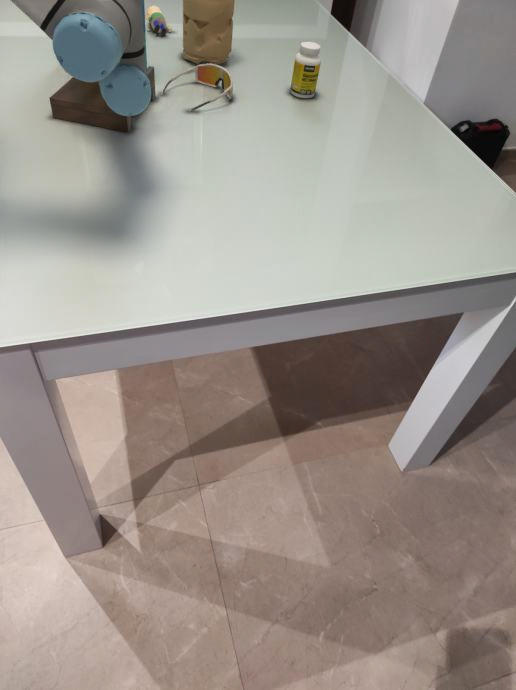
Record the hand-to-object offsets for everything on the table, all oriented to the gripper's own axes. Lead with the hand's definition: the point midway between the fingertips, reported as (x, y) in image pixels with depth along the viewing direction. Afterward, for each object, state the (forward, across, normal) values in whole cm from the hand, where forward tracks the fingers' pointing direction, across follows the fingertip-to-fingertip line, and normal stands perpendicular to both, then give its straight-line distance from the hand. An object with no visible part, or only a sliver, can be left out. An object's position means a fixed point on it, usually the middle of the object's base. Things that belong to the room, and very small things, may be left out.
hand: (93, 12), depth 102 cm
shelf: (-5, 0, -16) cm, 17 cm away
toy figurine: (+43, +22, -17) cm, 51 cm away
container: (+21, +30, -17) cm, 40 cm away
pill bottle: (-2, +48, -17) cm, 51 cm away
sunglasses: (-1, +22, -17) cm, 27 cm away
